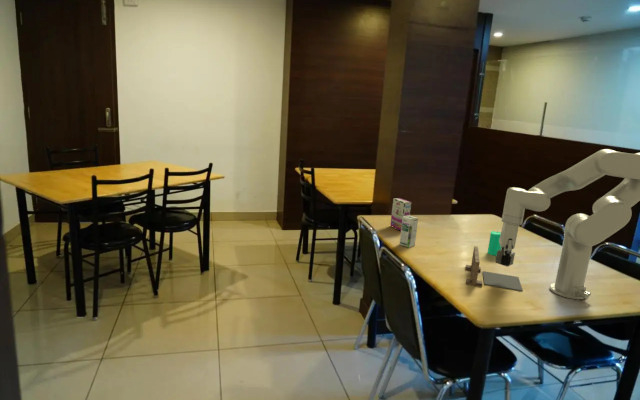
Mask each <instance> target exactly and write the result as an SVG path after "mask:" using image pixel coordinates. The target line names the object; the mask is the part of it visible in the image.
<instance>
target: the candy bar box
mask: <svg viewBox="0 0 640 400" xmlns="http://www.w3.org/2000/svg"><path fill="white" fill-rule="evenodd" d="M411 209H412V201H409V200H406V199H403V198H399V197H396V198H393V199H392V208H391V217H390V225H391V226H393V227H394V229H395V228H396V229H395V230H397V229H398V230H397V231H399V230H400V231H399V232H401V227H402V218H403V216H407V215H409V216H411V212H412V211H411ZM391 226H390V227H391ZM393 227H392V228H393Z"/></svg>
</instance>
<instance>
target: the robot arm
mask: <svg viewBox="0 0 640 400" xmlns="http://www.w3.org/2000/svg"><path fill="white" fill-rule="evenodd" d="M606 175H607V176H611V177H616V178H623V180H622V181H621V182H620V183H619V184H618V185H616V186H615V187H614V188H612V189H611V190H610V191H608V192H607V193H605V194H604V195H603V196H602V197H599V198H598V199H596V201H595V202H594V203H593V204H592V207H591V208H592V214H591V215H588V214H586V213H576V214H572V215H571V216H570V217H569V218H567V220H566V222H565V225H564V231H563V232H564V234H563V235H564V236H563V241H562V247H561V251H560V252H561V253H560V256H559V257H560V258H559V261H558V262H559V263H558V266H557V267H558V268H557V271H556V276H555V277H556V278H555V282H554V283H551V284H549V289H550V291H551V292H552V293H553V294H556V295H558V296H560V297H563V298H566V299H572V300H584V299H586V300H588V299H589V297H591V296H592V293H591V292H589V291H587V290H586V289H587V286H586V285H585V282H586V277H587V272H588V268H589V263H590V260H591V255H592V252H593V251H592V250H593V246H597V245H598V244H600V243H602V242H604V241H605V240H606V239H608V238H610V237H611V236H612V235H614V234H615V233H617V232H618V231H620V230H621V229H623V228H624V227H625V226H626V225H627V224H628V223H629V222H630V220H631V218H632V213H633V212H632V207H634V206H635V205H636V204H637V203H638V202H640V152H636V153H628V152H621V151H616V150H613V149H611V148H604V149H600V150H598V151H596V152H595V153H593V154H591V155H589V156H588V157H586V158H584V159H582V160H581V161H578V163H576V164H574V165H572V166H571V167H569V168H567V169H566V170H563V171H560V172H559V173H556V174H554V175H552V176H549V177H548V178H546V179H544V180H542V181H540V182H539V183H537V184H535V185H534V186H532V187H531V188H529V189H528V190H526V189H525V188H521V187H515V186H513V187H508V188H507V190H506V195H505V199H504V203H503V204H504V205H503V211H502V215H501V222H502V223H503V224H502V227H501V230H500V232H501V235H500V239H499V243H500V246H501V247H502V248H501V249H504V253H503V254H502V259H501V264H502V265H501V264H500V265H501V266H504V265H508V267H510V266H511V265H510V260H511V253H512V252H513V250H515V246H516V242H517V238H518V232H519V226H521V225H523V222H524V221H523V220H524V217H525V211H526V210H530V211H534V212H543V211H544V212H545V211H546V210H547V209H549V207H550V206H551V199H552V198H554V197H556V196H558V195H560V194H562V193H565V192H570V191H577V190H581V189H583V188H585V187H586V186H588V185H590V184H592V183H594V182H595V181H597V180H599V179H601V178H602V177H604V176H606ZM508 261H509V262H508ZM509 265H510V266H509Z"/></svg>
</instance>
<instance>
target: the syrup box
mask: <svg viewBox="0 0 640 400" xmlns="http://www.w3.org/2000/svg"><path fill="white" fill-rule="evenodd" d="M418 222H419V217H416V216H412V215H410V216H409V215H407V216H403V218H402V227H401V231H400V237H399V245H400V246H403V247H406V248H411V247H414V246H415V245H416V239H417V231H418V230H417V229H418Z"/></svg>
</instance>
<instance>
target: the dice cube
mask: <svg viewBox="0 0 640 400" xmlns="http://www.w3.org/2000/svg"><path fill="white" fill-rule="evenodd" d="M503 253H504V249H501V250H499V251H497V256H495V262H494V263H495V264H498V265H501V266H504V267H507V268H509V267H510V266H512V265H514V260H515V255H516V252H515V251H512V253H511V260H510V265H509V266H508V265H502V264H501V259H502V254H503ZM508 262H509V261H508Z"/></svg>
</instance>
